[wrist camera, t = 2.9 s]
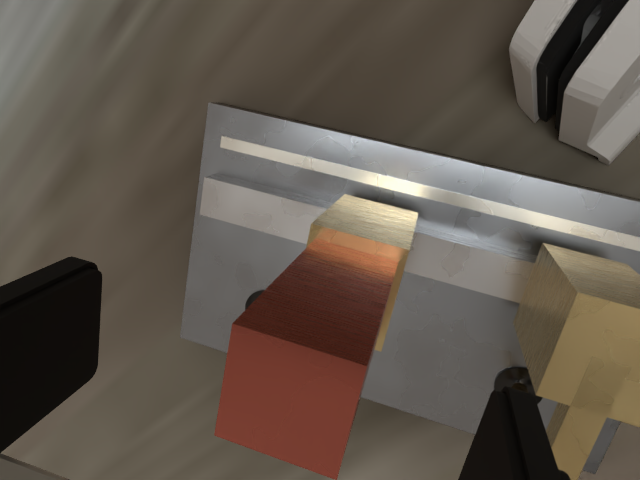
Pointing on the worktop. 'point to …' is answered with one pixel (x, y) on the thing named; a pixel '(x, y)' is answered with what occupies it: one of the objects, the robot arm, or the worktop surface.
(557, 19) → the grey stapler
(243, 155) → the gauge plate
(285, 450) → the block
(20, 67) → the worktop surface
